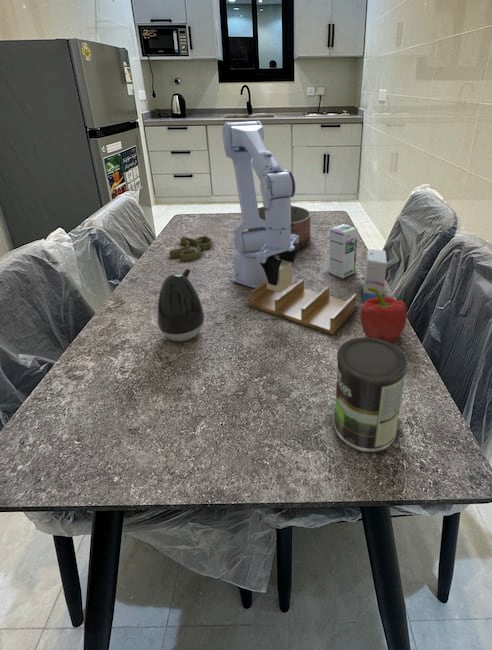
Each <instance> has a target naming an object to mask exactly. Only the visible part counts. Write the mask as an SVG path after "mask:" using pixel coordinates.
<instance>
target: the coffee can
mask: <svg viewBox="0 0 492 650" xmlns="http://www.w3.org/2000/svg"><path fill="white" fill-rule="evenodd" d="M336 359H337V368H336V387H335V405H334V417H333V427H334V430H335V432H336V434H337V436H338V437H339V439H341V441H342V442H343V443H345V444H346V445H347V446H349V447H351V448H353V449H355V450H358V451H361V452H367V453H375V452H380V451H383V450H385V449H387V448H388V447H390V446H391V445H392V444H393V443H394V442H395V440H396V437H397V432H398V431H397V430H398V424H399V423H398V421H399V415H400V409H401V402H402V395H403V389H404V382H405V376H406V372H407V370H408V360H407V357H406V354H405V353H404V352H403V351H402V350H401V349H400V348H398V347H397V346H396V345H394V344H393V343H391V342H387V341H384V340H381V339H377V338H370V337H368V336H363V337H355V338H351V339H349V340H347V341H345V342H344V343H342V344H341V345H340V346H339V348H338V350H337V353H336Z"/></svg>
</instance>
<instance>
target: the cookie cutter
mask: <svg viewBox="0 0 492 650" xmlns="http://www.w3.org/2000/svg"><path fill="white" fill-rule="evenodd" d="M179 240H180V244H181V245H185V246H183V247H180V248H176V249H171V250H169V258H170V259H171V258H180V261H192V260H193V261H194V260H196V259H199V258H200V257H202V251H203V250H207V249H211V248H212V247H213V242H212V238H210V237H209V236H208V235H203V236H199V237H197V238H191V237H186V236H185V237H184V236H182V237H180V238H179ZM190 245H193V246H196V247H197V251H196V248H195V247H193V248H191V247H190Z"/></svg>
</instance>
